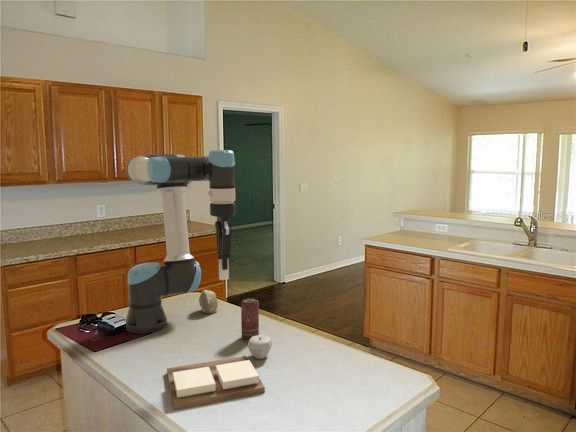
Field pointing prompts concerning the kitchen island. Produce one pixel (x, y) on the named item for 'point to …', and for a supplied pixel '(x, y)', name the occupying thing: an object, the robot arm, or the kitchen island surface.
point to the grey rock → (208, 301)
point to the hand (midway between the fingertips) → (224, 278)
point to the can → (249, 318)
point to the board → (220, 392)
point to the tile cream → (237, 374)
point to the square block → (193, 382)
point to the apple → (259, 346)
